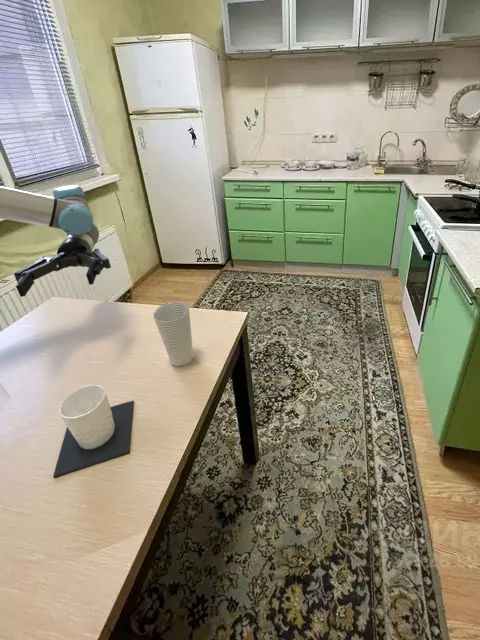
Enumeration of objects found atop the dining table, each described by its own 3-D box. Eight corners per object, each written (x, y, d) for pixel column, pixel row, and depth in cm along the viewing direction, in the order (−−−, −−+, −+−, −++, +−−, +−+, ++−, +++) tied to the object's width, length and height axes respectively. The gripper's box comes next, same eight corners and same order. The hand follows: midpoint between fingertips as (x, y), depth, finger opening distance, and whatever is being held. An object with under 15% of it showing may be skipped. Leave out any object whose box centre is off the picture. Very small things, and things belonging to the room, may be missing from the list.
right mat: (53, 478, 60) (52, 476, 60) (69, 420, 71) (69, 418, 71) (129, 453, 64) (129, 451, 64) (133, 401, 75) (133, 400, 75)
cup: (175, 345, 92) (165, 300, 85) (203, 349, 90) (194, 302, 83) (159, 367, 84) (146, 319, 78) (189, 372, 83) (178, 323, 76)
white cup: (106, 411, 72) (93, 378, 68) (125, 429, 68) (113, 395, 64) (68, 439, 66) (51, 405, 62) (87, 460, 62) (70, 425, 58)
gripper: (127, 254, 96) (120, 288, 78) (29, 269, 89) (-4, 311, 71) (121, 230, 93) (112, 260, 75) (18, 244, 86) (-19, 281, 68)
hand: (55, 285), depth 73 cm, fingers open, 13 cm apart
